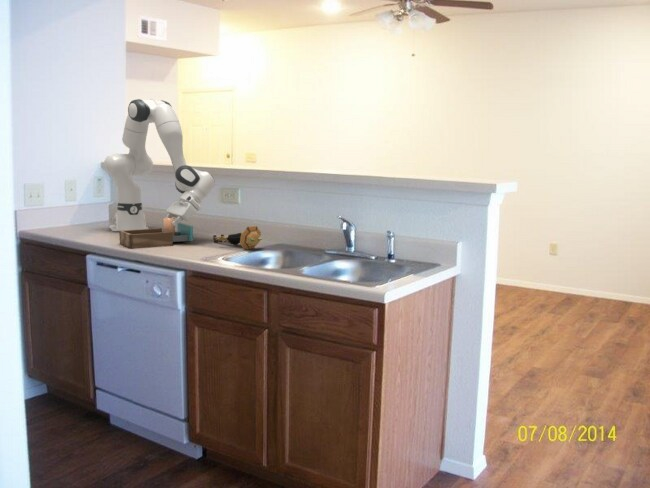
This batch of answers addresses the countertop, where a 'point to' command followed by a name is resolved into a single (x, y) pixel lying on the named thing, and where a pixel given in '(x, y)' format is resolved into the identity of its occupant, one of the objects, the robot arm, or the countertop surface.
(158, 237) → the brown wooden box
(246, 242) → the toy
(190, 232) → the teal tilted board
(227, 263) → the countertop surface
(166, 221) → the cylinder
